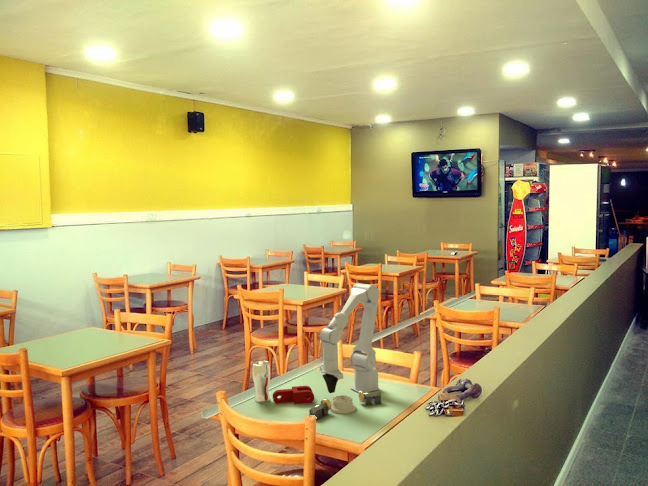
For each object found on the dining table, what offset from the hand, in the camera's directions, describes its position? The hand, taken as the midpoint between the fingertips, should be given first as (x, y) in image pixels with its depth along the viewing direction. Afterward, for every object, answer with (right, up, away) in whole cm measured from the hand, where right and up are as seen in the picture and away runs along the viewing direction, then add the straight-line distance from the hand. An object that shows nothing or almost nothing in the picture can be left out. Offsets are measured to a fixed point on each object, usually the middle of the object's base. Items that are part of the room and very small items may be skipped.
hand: (331, 392), depth 230 cm
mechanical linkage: (-15, -4, +1) cm, 16 cm away
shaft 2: (+15, -4, -3) cm, 16 cm away
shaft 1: (-4, -5, -14) cm, 16 cm away
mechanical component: (+4, -5, -8) cm, 10 cm away
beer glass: (-28, -4, +4) cm, 28 cm away
